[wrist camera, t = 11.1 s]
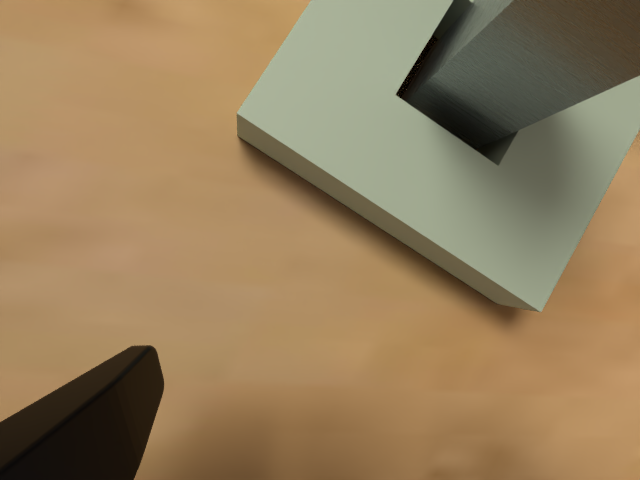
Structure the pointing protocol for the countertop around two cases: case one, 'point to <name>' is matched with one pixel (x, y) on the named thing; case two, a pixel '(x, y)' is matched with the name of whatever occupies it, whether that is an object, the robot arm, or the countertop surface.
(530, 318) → the countertop surface
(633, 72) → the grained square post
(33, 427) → the robot arm
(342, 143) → the square holed base
